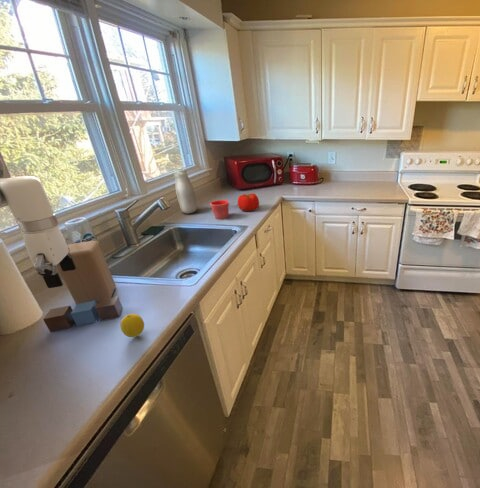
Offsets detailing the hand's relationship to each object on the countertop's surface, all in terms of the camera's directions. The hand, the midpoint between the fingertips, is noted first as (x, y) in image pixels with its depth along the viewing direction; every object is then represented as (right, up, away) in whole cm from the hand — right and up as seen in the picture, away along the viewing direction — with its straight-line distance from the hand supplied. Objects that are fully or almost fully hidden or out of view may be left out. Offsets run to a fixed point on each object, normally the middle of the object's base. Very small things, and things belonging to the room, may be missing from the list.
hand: (63, 278), depth 82 cm
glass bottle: (-11, +30, +101) cm, 106 cm away
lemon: (+21, -18, +1) cm, 27 cm away
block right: (+7, -13, +10) cm, 18 cm away
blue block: (+1, -14, +8) cm, 16 cm away
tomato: (+26, +33, +106) cm, 114 cm away
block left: (-5, -15, +6) cm, 17 cm away
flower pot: (+13, +27, +93) cm, 98 cm away
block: (-5, -9, +19) cm, 22 cm away
